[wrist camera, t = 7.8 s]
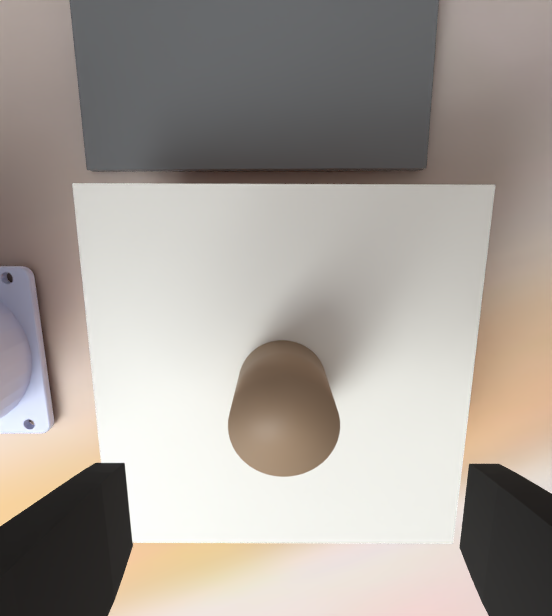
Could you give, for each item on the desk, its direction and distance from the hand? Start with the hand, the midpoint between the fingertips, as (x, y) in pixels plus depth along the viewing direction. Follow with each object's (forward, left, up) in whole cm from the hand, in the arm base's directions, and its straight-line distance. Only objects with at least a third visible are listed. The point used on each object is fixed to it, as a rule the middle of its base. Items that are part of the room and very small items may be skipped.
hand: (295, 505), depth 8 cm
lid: (0, 0, -6) cm, 6 cm away
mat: (-1, +15, -10) cm, 18 cm away
